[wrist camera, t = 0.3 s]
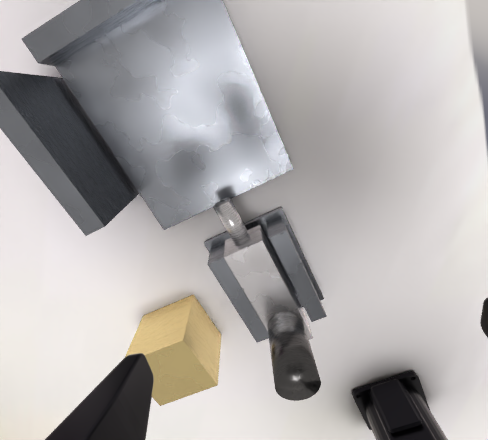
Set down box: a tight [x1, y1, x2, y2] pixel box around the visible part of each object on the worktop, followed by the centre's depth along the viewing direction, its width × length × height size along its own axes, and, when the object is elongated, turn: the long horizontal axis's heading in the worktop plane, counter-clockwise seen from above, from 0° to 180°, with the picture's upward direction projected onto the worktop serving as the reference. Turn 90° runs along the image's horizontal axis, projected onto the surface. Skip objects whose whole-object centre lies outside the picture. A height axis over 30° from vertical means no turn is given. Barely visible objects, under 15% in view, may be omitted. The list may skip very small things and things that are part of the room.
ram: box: [213, 197, 321, 400], centre depth 18 cm, size 12×3×7 cm, turn 26°
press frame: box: [0, 0, 326, 342], centre depth 18 cm, size 24×12×6 cm, turn 26°
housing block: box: [125, 295, 221, 406], centre depth 23 cm, size 5×5×5 cm
